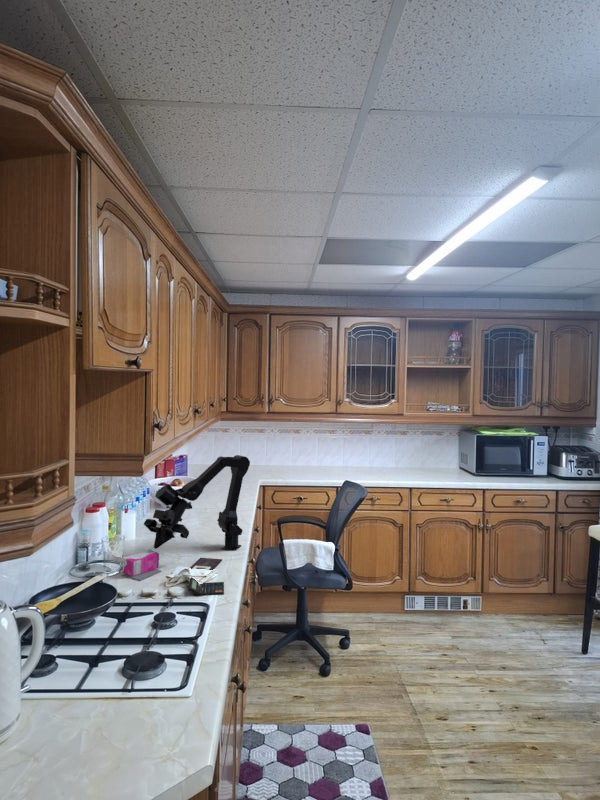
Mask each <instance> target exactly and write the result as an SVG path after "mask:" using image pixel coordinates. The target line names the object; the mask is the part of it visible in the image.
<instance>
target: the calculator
mask: <svg viewBox="0 0 600 800" xmlns="http://www.w3.org/2000/svg"><path fill="white" fill-rule="evenodd" d="M196 580H197V579H196ZM196 580H195V578H193V576H190V578H189V580H188V587H187V591H188V592H191V593H192V594H195V595H196V596H203V597H204V596H223V595H225V582H224V581H216V582H202V583H203V584H199V583H198V582H197V581H198V580H197V581H196Z"/></svg>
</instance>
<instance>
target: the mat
mask: <svg viewBox="0 0 600 800" xmlns="http://www.w3.org/2000/svg"><path fill="white" fill-rule="evenodd" d="M161 572H162V570H159V569H154V570H151V571H148V572H145V573H142V574H139V575H135V576H132V577H131V576H129V575H127V574H125V573H122V575H121V577H124V578H129V579H132V580H136V581H140V582H141V581H144V580H147V579H148V578H150V577H153V576H154V575H157V574H160V573H161Z"/></svg>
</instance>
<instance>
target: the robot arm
mask: <svg viewBox="0 0 600 800" xmlns="http://www.w3.org/2000/svg"><path fill="white" fill-rule="evenodd" d="M250 464H251V461H250V459H249V457H247V456H244V455H240V454H236V455H234V456H222V455H221V456H218V457H217V458H216V460H215V461H214V462H213V463H212V464H211V465H209V467H207V468H206V469H204V471H203V472H202V473H201V474H200V475H199V476H198V477H196V478H195V479H193V480H190V481H188V482H186V484H184V485H183V486H182V487H180V488H178V489H174V488H173V487H172V485H170V484H169V483H165V485H163V486H161V487H160V488H159V489H158V490H157V491H156V493H155V496H154V497H155V498H156V499H157V500H158V501H160V502H161V503H162V504H163V505H165V506H166V507H167V506H170V508H169V509H165V510H161V509H155V510H154V513H153V516H152V518H146V519H145V521H144V523H143V525H144V526H145V528H147V529H148V530H149V532H151V533H155V538H154V544H153V548H154V549H156V550H157V549H159V548H160V547H161V546H163V545H164V544H166V543H168V541H170V540H172V539H175V538H176V536H175V535H176V534H177V533H178V534H179V536H180V538H182V539H188V538H189V536H190V531H189V529H188V528H187V527H186V526H185V525H184V524H180V523H179V522H182V521H183V518H182V517H183V515H184V513H185V511H186V510H191V509H193V505H192V501H193V502H194V501H196V500H197V499H198V498H199V497H200V495H202V493H203V491H204V489H205V487H206V486H207V485H208V484H209V483H210V482H211V481H212V480H213V479H214V478H215V477H217V475H218V474H219V473H221V471H223V470H224V469H225V468H226V467H229V468H230V470H231V472H230V473H231V478H230V485H229V489H228V494H227V499H226V503H225V508H224V509H223V510H222V511H219V513H218V518H217V523H218V524H217V525H218V527H219V528H220V529H221V532H223V533H224V546H222V547H221V549H222V550H227V549H228V551H236V550H238V549H240V548H241V547H242V544H239V536H241V535H242V533H243V532H244V531H243V529H242V528H241V527H240V526H239V525H238V514H237V510H238V509H237V508H238V504H239V499H240V495H241V494H240V493H241V489H242V484H243V479H244V478H245V475H246V474H247V473H248V471H249V468H250ZM187 500H188V501H187ZM156 519H158V521H157V520H156Z"/></svg>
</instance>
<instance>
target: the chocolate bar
mask: <svg viewBox="0 0 600 800" xmlns="http://www.w3.org/2000/svg"><path fill="white" fill-rule="evenodd" d="M222 561H223V559H222V558H212V557H207V558H206V557H200V558H198V559H197V560H196V561H195V562H193V564H192V565H191V566H190V567H189V568H191V569H206V570H213V569H214V570H215V569H217V567H218V566H219V565H220V564H221V563H222ZM214 570H213V571H214Z"/></svg>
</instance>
